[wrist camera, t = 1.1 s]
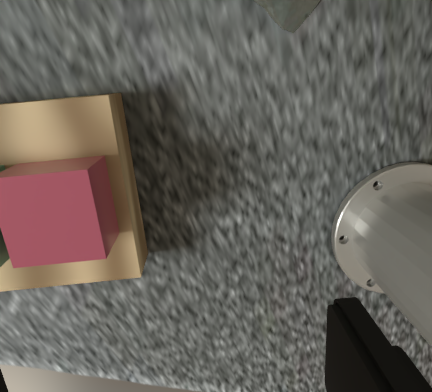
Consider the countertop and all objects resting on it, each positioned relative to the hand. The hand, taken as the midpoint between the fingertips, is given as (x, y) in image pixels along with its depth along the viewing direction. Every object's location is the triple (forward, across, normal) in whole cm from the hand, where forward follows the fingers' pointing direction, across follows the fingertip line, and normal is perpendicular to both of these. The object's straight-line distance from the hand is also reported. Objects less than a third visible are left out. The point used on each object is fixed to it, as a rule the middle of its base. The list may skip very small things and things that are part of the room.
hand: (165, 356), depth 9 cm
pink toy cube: (+16, +9, 0) cm, 18 cm away
